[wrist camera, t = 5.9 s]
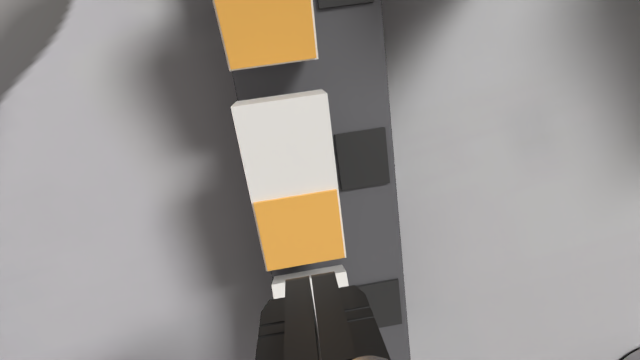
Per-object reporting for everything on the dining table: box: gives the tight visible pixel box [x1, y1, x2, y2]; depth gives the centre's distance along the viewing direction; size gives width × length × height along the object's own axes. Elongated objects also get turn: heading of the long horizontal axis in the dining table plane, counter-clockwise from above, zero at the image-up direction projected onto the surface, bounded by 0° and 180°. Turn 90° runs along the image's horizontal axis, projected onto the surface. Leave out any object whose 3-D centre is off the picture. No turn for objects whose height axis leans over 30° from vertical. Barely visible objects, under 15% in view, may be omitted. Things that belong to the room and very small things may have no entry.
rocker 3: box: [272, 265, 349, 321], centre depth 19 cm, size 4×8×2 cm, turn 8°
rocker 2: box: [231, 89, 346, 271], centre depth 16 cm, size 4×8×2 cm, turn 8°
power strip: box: [232, 0, 410, 360], centre depth 20 cm, size 8×30×5 cm, turn 8°
